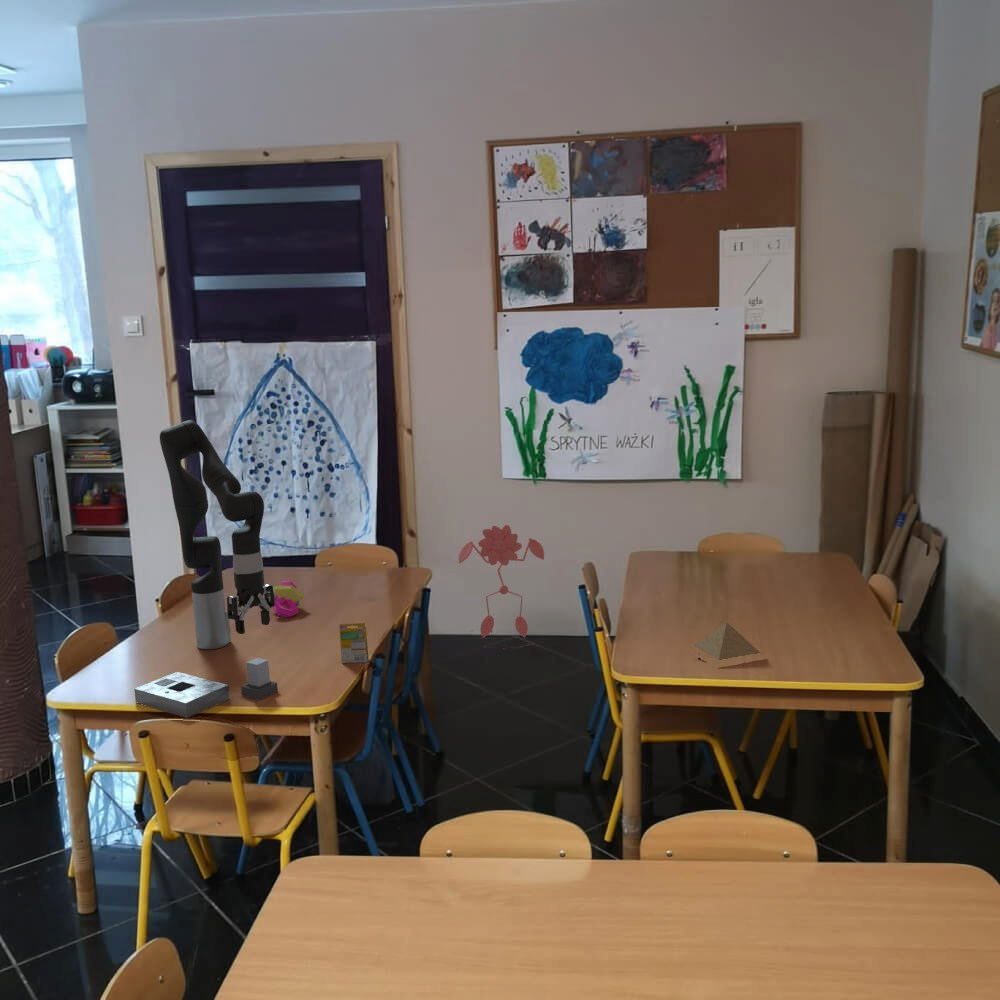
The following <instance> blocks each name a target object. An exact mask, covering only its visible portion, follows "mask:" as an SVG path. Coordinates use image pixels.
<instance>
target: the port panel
mask: <svg viewBox="0 0 1000 1000" xmlns="http://www.w3.org/2000/svg"><path fill="white" fill-rule="evenodd" d="M133 692H134V696H135V697H134V698H135V699H134V700H135V703H136V702H138V703H140V704H139V705H141V704H143V705H142V706H144V705H146V706H145V707H148V706H149V707H148V708H152V709H155V710H158V711H162V712H165V713H169V714H172V715H174V716H179V717H182V718H185V719H188V718H191V717H193V716H195V715H198V714H200V713H201V712H204V711H206V710H208V709H211V708H213V707H215V705H216V706H218V705H220V704H223V703H224V701H225V702H226V700H227V701H229V700H230V691H229V685H228V684H226V683H222V682H218V681H215V680H210V679H206V678H202V677H199V676H195V675H191V674H187V673H184V672H179V671H175V672H174V673H170V674H168V675H165V676H163V677H160V678H158V679H155V680H153V681H152V680H151V682H148V683H145V684H142V685H140V686H138V687H135V688H134V691H133ZM228 699H229V700H228ZM217 704H218V705H217Z"/></svg>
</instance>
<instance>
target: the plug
mask: <svg viewBox="0 0 1000 1000" xmlns="http://www.w3.org/2000/svg"><path fill="white" fill-rule="evenodd" d="M245 663H246V676H247V683H248V687H251V688H255V689H261V688H263V687H265V686H268V685H270V681H271V680H270V669H269V668H270V666H269V660H268V659H264V658H261V657H256V658H253V659H251V660H249V661H246V662H245Z"/></svg>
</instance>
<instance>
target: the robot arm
mask: <svg viewBox="0 0 1000 1000" xmlns="http://www.w3.org/2000/svg"><path fill="white" fill-rule="evenodd" d="M159 442H160V447H161V451H162V455H163V458H164V462H165V464H166V469H167V471H168V477H169V480H170V487H171V495H172V500H173V505H174V510H175V513H176V518H177V522H178V526H179V533H180V541H181V542H180V543H181V551H182V552H181V553H182V558H183V562H184V564H185V566H186V567H187V568H188V569H191V570H192V569H195V570H196V569H207V568H208V569H210V570H209V571H208V572H207V573H206V574H203V575H201V576H200V577H197V578H195V579H194V580H192V581H191V585H190V587H191V599H192V606H193V607H192V609H193V618H194V628H195V637H196V638H195V639H196V647H197V648H198V649H201V650H214V649H215V650H216V649H219V648H223V647H226V646H227V645H229V643H230V642H232V638H231V637H232V635H231V625H230V620H234V624H235V632H237V633H238V635H244V634H246V630H245V629H246V628H245V620H244V617H245V616H246V614H247V613H248V612H249V609H252V608H253V607H258V608H259V609H260V621H261V624H262V625H264V626H267V625H270V622H271V618H270V610H271V608H272V607H274V606H275V600H274V592H273V588H274V586H273V585H271V584H265V573H264V562H263V556H262V551H261V538H260V536H261V528H262V523H263V519H264V513H265V503H264V499H263V497H262V496H261V494H259V493H258V492H257V491H254V490H253V491H252V490H251V491H245V492H241V491H242V485H241V482H240V481H239V479H238V478H237V477H236V476H235V475H234V474H233V473H232V472H231V471H230V469H229V468H228V467H227V466H226V464H224V462H223V461H222V459H221V458H220V456H219V454H218V452H217V451H216V449H215V448H214V446H213V444H212V442H211V441H210V440H209V438H208V436H207V435H206V433H205V432H204V430H203V429H202V428H201V426H200V425H199V424H198V423H197V422H195V420H192V419H190V420H189V419H188V420H185V421H182V422H179V423H176V424H174V425H171V426H168V427H166V428H165V429H163V430H161V432H160V433H159ZM199 453H201V455H202V467H201V470H202V471H201V475H202V480H203V482H204V483H203V482H202V481H201V480H200V479H198V477H196V476H194V474H192V473H190V472H189V471H188V470H186V469H185V467H184V466H182V460H183V459H187V458H189V457H191V456H194V455H196V454H199ZM205 485H206V486H205ZM206 488H208V489H209V490H210V491H211V493H212V494H213V495H214V496H215V498H216V499H217V502H218V505H219V506H220V511H221V513H222V515H223V517H224V518H225V519H226V520H228V521H229V522H233V523H238V522H241V521H242V522H243V521H244V523H243V525H242V526H241V527H240V528H238V529H236V530H234V531H233V532H232V534H231V543H232V544H231V545H232V547H231V548H232V568H233V578H234V579H233V580H234V587H235V589H236V591H237V592H236V595H233V596H232V595H228V596H227V597H226V600H225V590H224V589H225V588H224V580H223V568H222V567H223V566H222V565H223V564H222V546H221V541H220V539H219V538H218V536H215V535H213V536H212V535H211V536H210V535H209V536H199V537H198V536H197V537H193V536H194V534H195V532H196V529H197V528H198V527H199V525H200V524H201V522H202V521H203V520H204V518H205V516H206V515H207V512H208V510H209V500H208V493H207V489H206ZM269 599H270V600H269ZM226 604H227V606H226ZM226 607H227V610H226Z"/></svg>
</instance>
